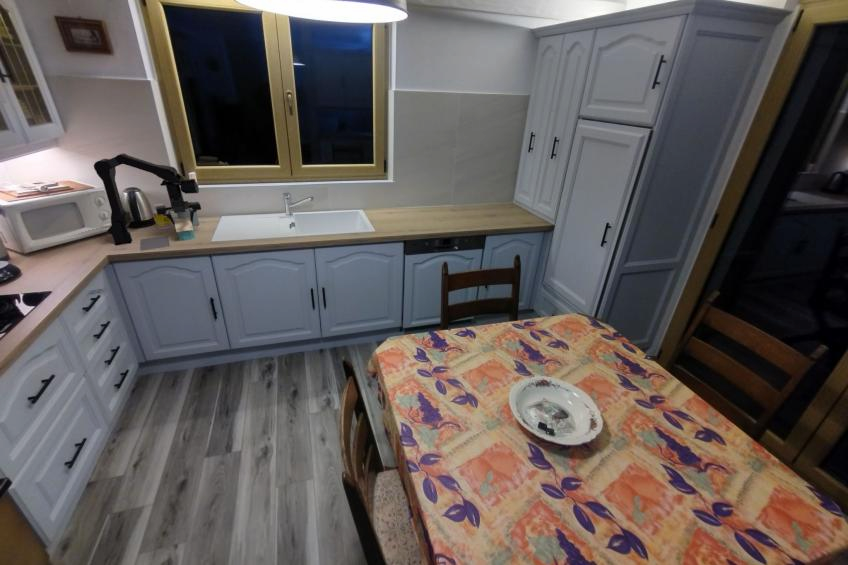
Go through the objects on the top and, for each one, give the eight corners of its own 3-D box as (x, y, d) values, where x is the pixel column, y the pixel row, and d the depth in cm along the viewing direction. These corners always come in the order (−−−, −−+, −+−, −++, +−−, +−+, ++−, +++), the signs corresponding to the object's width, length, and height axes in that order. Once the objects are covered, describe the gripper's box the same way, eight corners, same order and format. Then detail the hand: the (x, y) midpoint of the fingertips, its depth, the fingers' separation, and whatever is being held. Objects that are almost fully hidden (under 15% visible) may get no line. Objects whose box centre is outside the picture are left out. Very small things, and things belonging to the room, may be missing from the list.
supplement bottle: (167, 229, 208) (160, 206, 202) (154, 229, 208) (147, 206, 202) (174, 225, 214) (168, 203, 208) (162, 225, 214) (155, 202, 208)
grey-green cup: (194, 228, 211) (188, 207, 205) (175, 227, 211) (169, 206, 205) (203, 222, 220) (198, 202, 214) (186, 222, 220) (180, 201, 214)
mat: (140, 251, 181) (140, 250, 181) (140, 240, 194) (140, 239, 194) (170, 247, 187) (169, 246, 187) (168, 236, 200) (168, 235, 200)
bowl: (180, 242, 193) (177, 232, 191) (179, 237, 198) (176, 228, 196) (195, 239, 197) (193, 230, 194) (194, 235, 202) (192, 226, 199)
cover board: (176, 232, 187) (175, 227, 186) (174, 223, 198) (173, 219, 197) (193, 229, 191) (192, 224, 190) (190, 221, 201) (189, 217, 200)
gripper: (152, 200, 176) (162, 232, 183) (198, 195, 185) (206, 226, 193) (152, 194, 184) (161, 225, 192) (196, 190, 194) (203, 220, 201)
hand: (183, 224), depth 194 cm, fingers closed on cover board, 7 cm apart
